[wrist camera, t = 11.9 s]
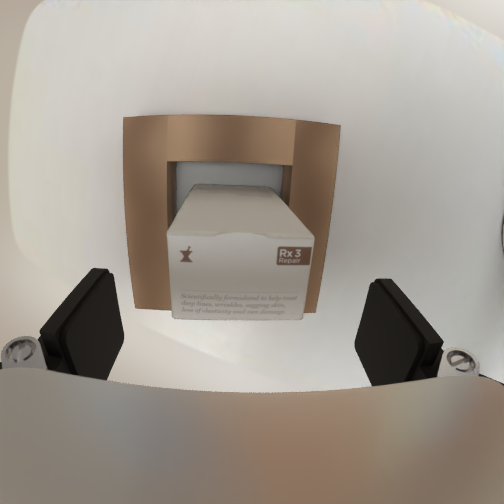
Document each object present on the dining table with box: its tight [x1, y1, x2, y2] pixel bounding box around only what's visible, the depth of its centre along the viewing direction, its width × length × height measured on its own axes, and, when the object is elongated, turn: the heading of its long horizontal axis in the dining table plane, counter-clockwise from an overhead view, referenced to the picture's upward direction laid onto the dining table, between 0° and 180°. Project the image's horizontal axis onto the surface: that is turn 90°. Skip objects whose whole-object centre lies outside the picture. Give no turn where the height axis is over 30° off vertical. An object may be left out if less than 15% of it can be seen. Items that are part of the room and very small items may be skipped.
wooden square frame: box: [123, 115, 341, 313], centre depth 22 cm, size 14×14×4 cm
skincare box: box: [166, 184, 315, 320], centre depth 18 cm, size 6×4×12 cm
